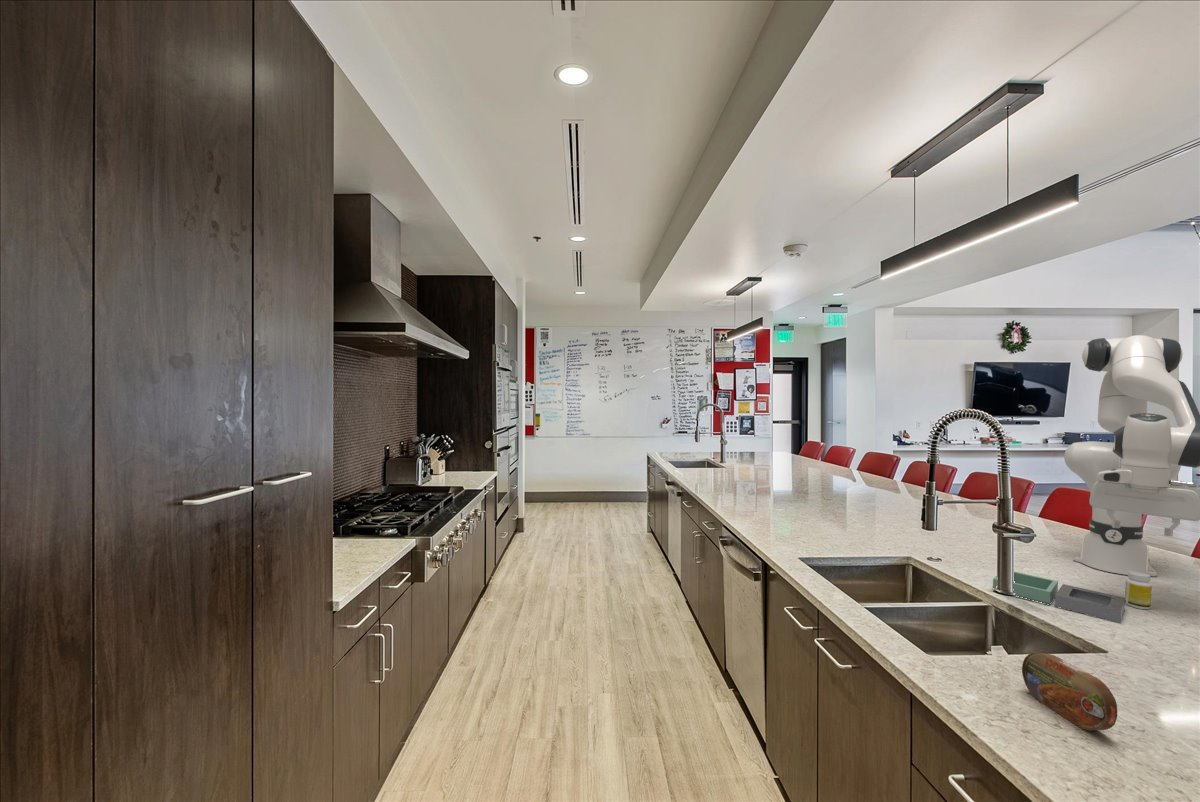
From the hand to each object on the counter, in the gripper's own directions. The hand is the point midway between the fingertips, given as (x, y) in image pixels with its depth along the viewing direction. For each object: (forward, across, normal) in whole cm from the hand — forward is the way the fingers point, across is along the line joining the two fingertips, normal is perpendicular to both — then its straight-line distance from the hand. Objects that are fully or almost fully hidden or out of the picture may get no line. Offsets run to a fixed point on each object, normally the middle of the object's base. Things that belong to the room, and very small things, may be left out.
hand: (1141, 531), depth 138 cm
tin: (+20, +5, +75) cm, 78 cm away
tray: (+19, +21, +12) cm, 31 cm away
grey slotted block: (+19, +8, +12) cm, 24 cm away
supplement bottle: (+20, 0, 0) cm, 20 cm away
